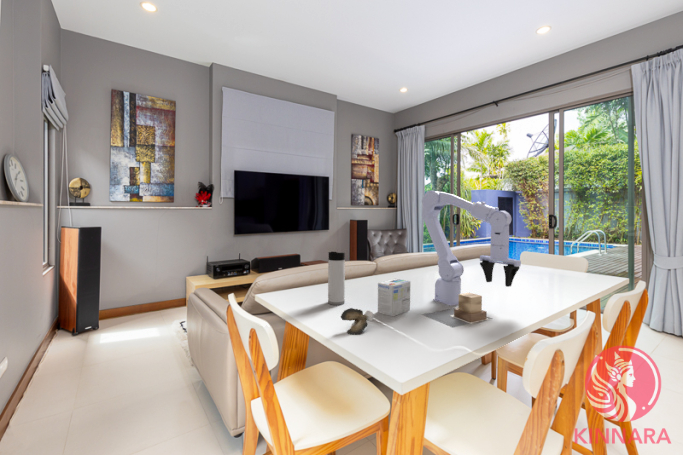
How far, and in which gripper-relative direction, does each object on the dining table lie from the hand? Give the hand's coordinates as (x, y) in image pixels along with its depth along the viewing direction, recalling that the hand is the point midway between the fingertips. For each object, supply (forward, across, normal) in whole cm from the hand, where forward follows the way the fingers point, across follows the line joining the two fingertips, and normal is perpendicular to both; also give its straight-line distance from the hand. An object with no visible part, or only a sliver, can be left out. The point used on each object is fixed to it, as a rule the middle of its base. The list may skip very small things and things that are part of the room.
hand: (498, 284), depth 114 cm
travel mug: (+10, -35, -46) cm, 59 cm away
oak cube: (+7, +1, -15) cm, 17 cm away
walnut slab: (+10, +1, -15) cm, 18 cm away
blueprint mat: (+10, -2, -18) cm, 21 cm away
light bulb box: (+10, -16, -33) cm, 38 cm away
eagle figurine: (+10, -8, -53) cm, 54 cm away
